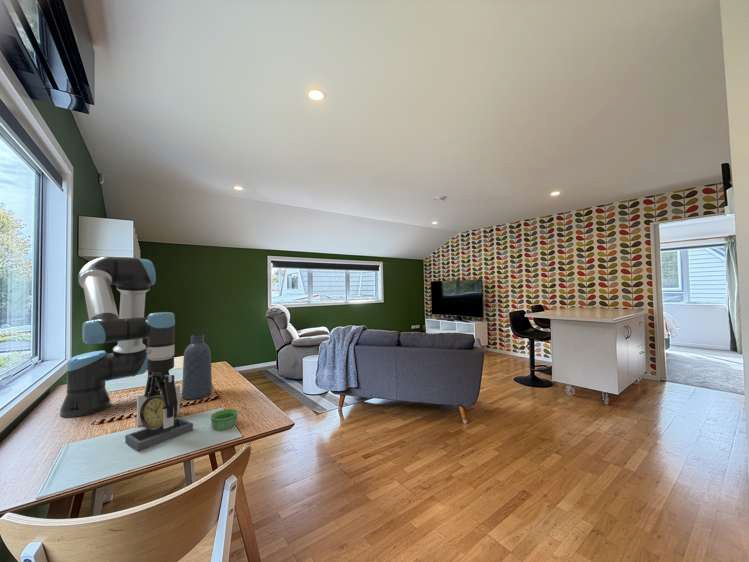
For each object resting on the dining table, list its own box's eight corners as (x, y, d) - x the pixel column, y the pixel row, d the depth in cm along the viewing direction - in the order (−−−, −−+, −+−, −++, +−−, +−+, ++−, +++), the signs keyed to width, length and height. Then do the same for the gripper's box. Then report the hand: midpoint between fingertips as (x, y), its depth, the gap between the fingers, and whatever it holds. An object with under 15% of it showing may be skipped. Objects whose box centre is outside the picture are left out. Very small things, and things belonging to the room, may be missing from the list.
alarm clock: (139, 435, 98) (137, 385, 100) (153, 428, 104) (151, 381, 105) (168, 433, 97) (166, 382, 98) (181, 426, 102) (179, 378, 104)
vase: (190, 391, 145) (190, 333, 145) (216, 390, 146) (216, 333, 147) (176, 401, 133) (176, 337, 133) (204, 399, 134) (205, 337, 135)
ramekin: (228, 418, 114) (228, 407, 114) (243, 423, 110) (243, 411, 110) (205, 428, 106) (205, 415, 107) (220, 434, 102) (220, 421, 102)
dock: (125, 442, 96) (125, 435, 96) (179, 423, 110) (179, 417, 110) (138, 451, 91) (138, 443, 91) (192, 430, 104) (192, 423, 105)
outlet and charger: (136, 425, 108) (137, 395, 109) (178, 412, 120) (178, 384, 121) (150, 433, 102) (150, 401, 103) (193, 418, 114) (193, 389, 114)
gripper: (133, 355, 104) (132, 418, 104) (164, 365, 92) (163, 436, 91) (158, 352, 111) (157, 410, 110) (190, 360, 98) (189, 426, 97)
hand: (160, 422), depth 101 cm, fingers closed on alarm clock, 11 cm apart
